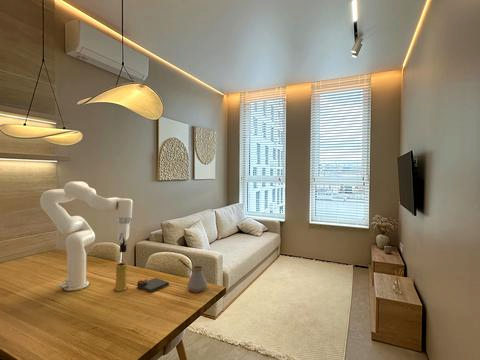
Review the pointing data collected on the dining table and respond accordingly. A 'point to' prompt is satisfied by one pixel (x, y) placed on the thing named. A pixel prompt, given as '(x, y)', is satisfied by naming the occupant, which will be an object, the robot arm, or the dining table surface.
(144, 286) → the scale
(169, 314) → the dining table surface
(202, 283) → the coffee pot
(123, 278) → the vase
